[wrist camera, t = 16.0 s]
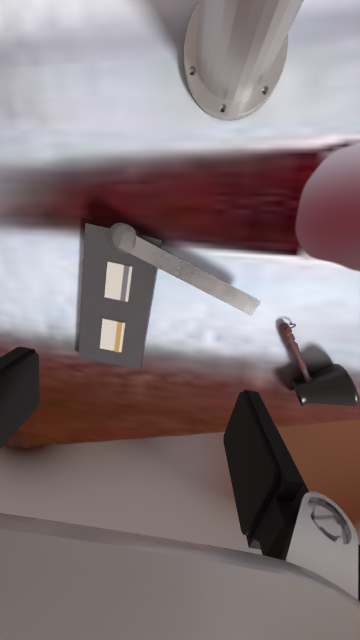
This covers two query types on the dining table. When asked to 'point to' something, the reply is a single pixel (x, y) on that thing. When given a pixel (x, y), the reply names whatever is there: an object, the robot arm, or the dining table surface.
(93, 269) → the chassis
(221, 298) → the swing arm
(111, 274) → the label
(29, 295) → the dining table surface
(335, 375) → the black dustpan
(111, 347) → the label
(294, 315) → the dining table surface
